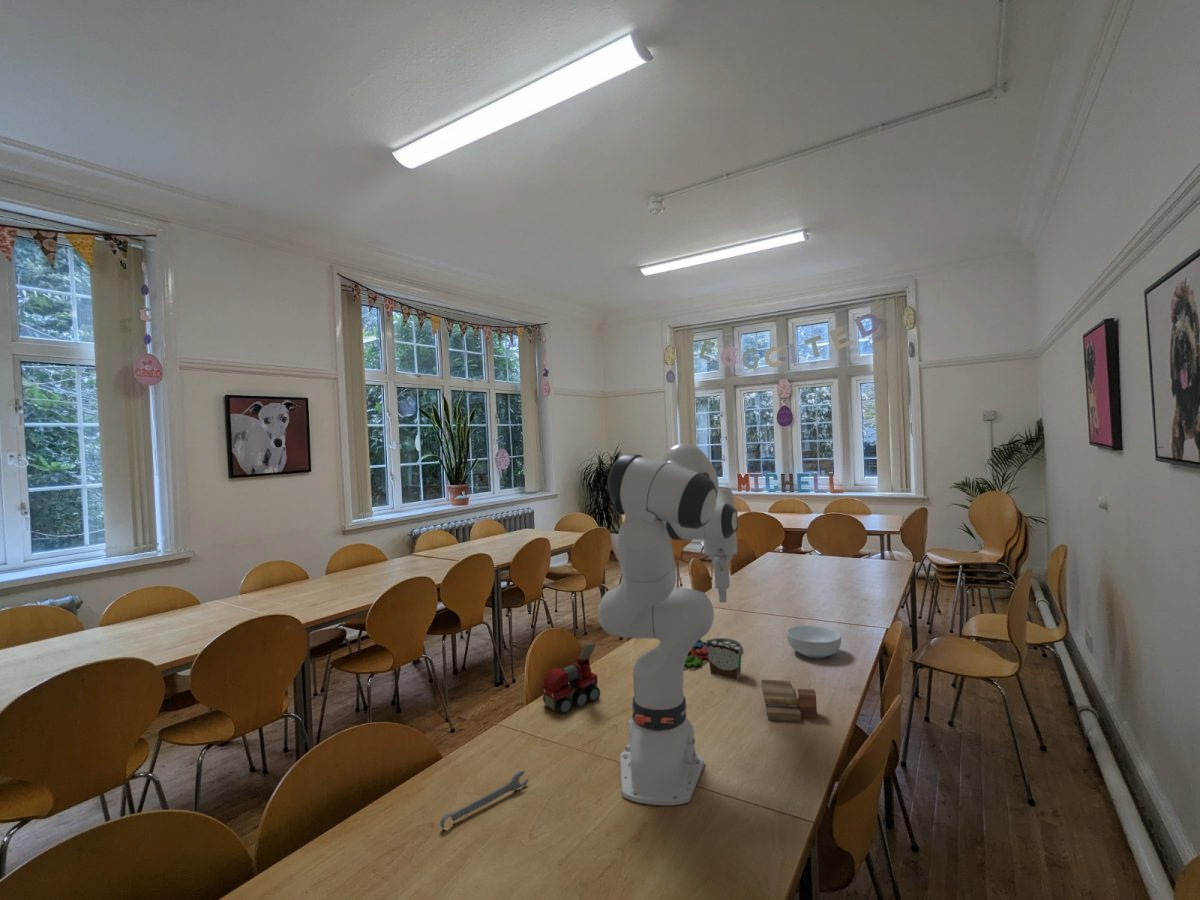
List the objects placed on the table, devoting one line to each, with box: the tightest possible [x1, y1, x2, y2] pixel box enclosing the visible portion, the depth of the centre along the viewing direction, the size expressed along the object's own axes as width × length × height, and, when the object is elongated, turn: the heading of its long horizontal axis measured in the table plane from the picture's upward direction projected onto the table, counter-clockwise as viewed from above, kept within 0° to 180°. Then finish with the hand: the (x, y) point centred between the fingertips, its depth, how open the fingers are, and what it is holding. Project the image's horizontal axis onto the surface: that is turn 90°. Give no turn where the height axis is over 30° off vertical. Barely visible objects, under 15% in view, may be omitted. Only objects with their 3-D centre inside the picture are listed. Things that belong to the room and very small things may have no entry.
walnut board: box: [760, 679, 802, 723], centre depth 150 cm, size 20×8×2 cm, turn 168°
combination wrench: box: [440, 770, 529, 829], centre depth 111 cm, size 4×1×20 cm
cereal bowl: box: [786, 625, 842, 659], centre depth 183 cm, size 17×17×7 cm
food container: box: [705, 637, 745, 682], centre depth 170 cm, size 12×6×10 cm, turn 47°
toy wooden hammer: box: [763, 688, 818, 720], centre depth 143 cm, size 4×13×6 cm, turn 76°
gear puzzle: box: [684, 639, 709, 671], centre depth 183 cm, size 31×16×4 cm, turn 139°
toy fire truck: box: [542, 642, 601, 715], centre depth 154 cm, size 11×16×18 cm
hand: (722, 596), depth 150 cm, fingers open, 8 cm apart
